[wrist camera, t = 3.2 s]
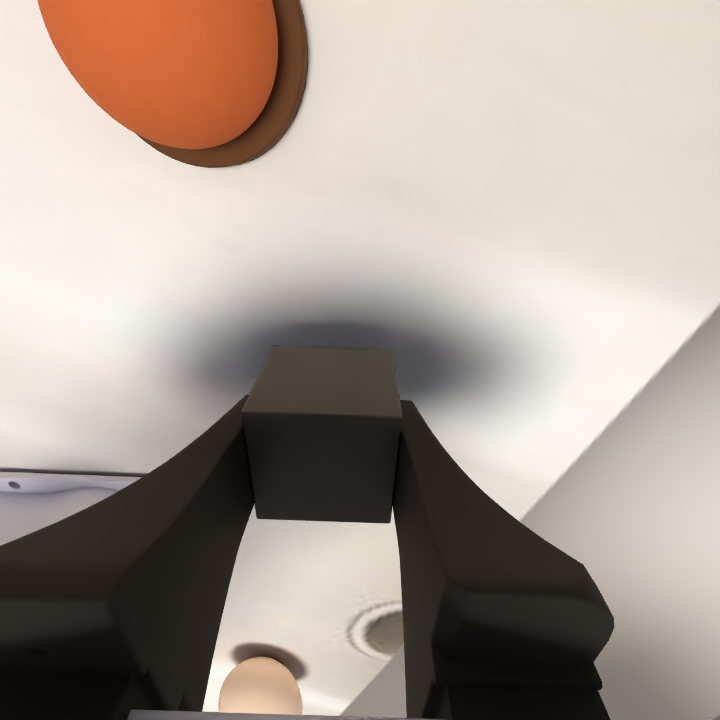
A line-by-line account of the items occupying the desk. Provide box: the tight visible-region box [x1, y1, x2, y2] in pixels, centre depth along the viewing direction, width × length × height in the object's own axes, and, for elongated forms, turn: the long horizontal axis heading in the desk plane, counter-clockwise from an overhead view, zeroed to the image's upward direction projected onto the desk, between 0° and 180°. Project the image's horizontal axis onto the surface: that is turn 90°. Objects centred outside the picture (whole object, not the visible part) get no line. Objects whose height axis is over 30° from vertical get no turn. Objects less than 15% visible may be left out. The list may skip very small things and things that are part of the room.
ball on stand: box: [38, 0, 308, 168], centre depth 9 cm, size 6×6×5 cm
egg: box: [218, 657, 302, 715], centre depth 27 cm, size 5×5×7 cm
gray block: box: [242, 346, 402, 523], centre depth 12 cm, size 4×4×4 cm
